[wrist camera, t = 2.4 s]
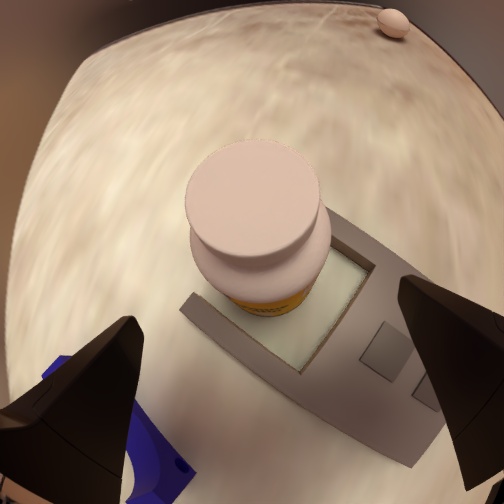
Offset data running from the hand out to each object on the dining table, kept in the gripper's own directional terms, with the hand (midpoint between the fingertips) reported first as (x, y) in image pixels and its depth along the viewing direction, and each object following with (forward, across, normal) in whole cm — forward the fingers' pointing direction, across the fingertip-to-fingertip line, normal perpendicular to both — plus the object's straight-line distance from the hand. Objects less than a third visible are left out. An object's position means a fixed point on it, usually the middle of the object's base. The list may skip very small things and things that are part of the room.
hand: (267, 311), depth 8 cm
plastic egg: (+35, -26, -19) cm, 48 cm away
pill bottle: (+11, 0, +5) cm, 12 cm away
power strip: (+7, -5, +9) cm, 12 cm away
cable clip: (+2, +13, +13) cm, 19 cm away
